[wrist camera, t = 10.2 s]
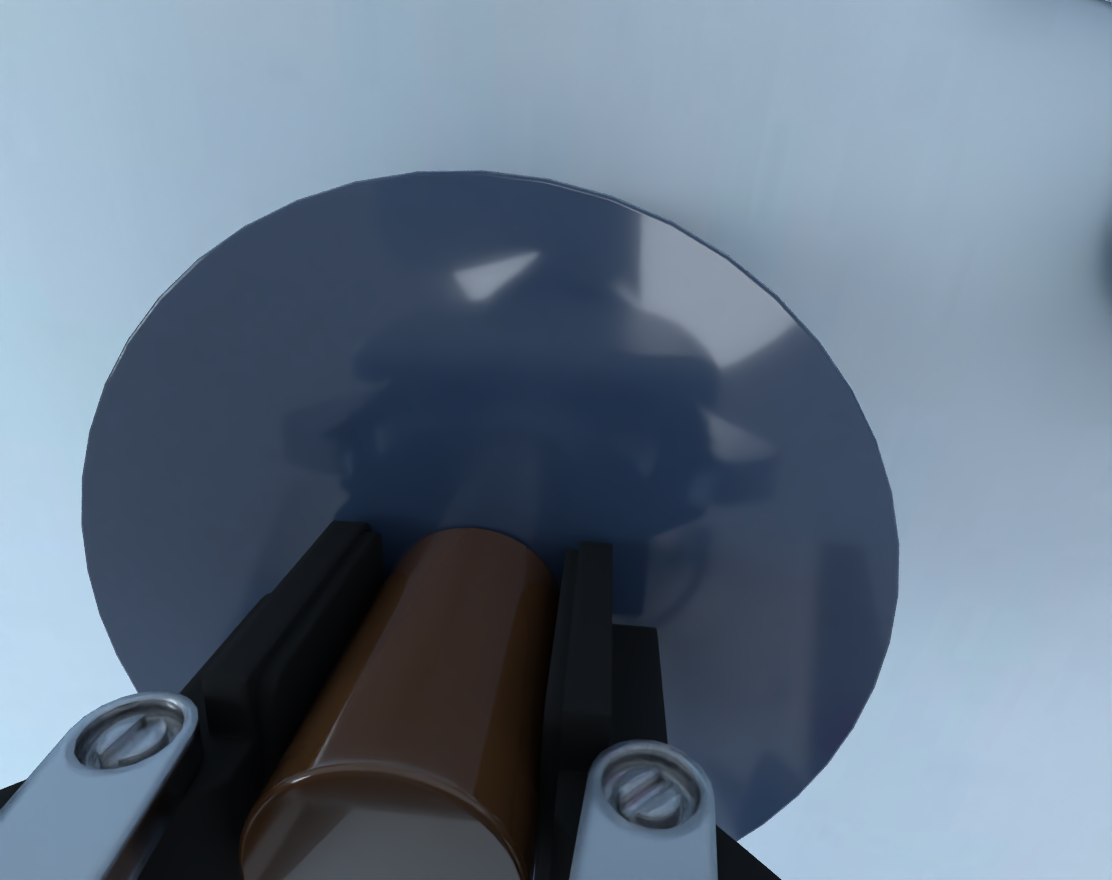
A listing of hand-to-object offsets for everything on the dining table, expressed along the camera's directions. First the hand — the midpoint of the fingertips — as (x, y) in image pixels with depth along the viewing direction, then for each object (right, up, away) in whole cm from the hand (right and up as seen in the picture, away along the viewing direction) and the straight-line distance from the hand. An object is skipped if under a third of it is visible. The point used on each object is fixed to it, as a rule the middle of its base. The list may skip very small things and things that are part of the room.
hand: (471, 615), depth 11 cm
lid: (0, 0, +1) cm, 1 cm away
